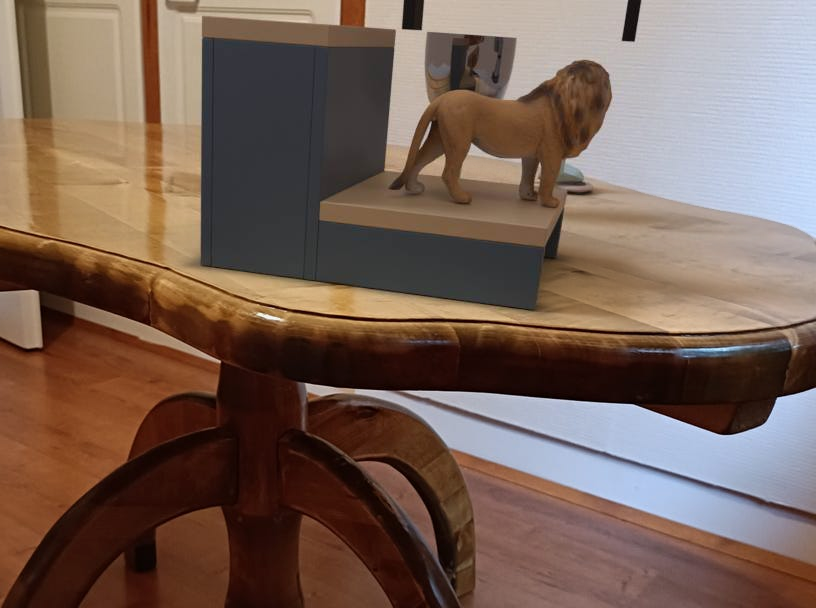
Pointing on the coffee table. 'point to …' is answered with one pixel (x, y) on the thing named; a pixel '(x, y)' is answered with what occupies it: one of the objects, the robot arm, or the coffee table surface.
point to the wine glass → (468, 64)
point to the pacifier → (571, 179)
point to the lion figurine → (513, 130)
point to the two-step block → (344, 175)
